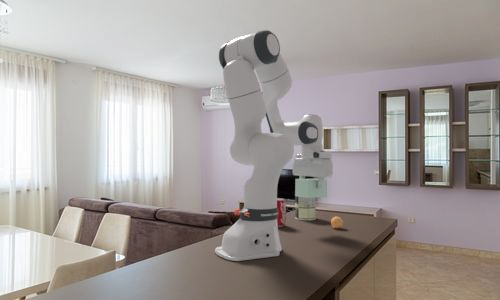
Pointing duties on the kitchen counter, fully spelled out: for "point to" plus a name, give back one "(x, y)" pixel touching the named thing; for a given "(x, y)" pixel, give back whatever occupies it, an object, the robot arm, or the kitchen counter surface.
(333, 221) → the orange sphere
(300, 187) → the mint green block
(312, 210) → the coffee can
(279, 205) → the soda can
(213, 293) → the kitchen counter surface
